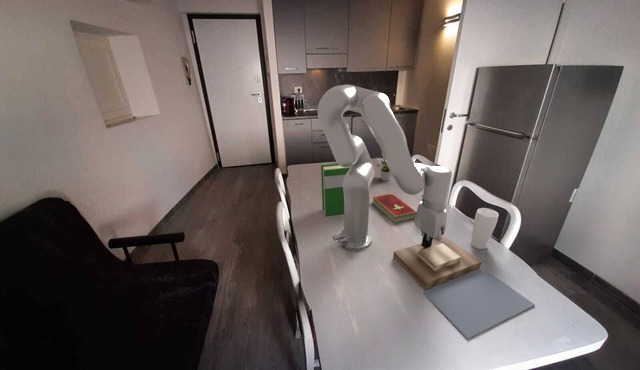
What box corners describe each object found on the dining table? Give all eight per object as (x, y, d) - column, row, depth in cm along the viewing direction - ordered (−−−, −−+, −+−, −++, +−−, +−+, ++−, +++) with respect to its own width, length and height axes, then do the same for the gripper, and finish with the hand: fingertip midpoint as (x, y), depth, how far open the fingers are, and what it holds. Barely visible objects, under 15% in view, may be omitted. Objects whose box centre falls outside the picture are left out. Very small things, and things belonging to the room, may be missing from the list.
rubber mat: (467, 339, 63) (467, 338, 63) (422, 292, 77) (423, 291, 77) (534, 305, 71) (534, 304, 71) (483, 268, 85) (483, 267, 85)
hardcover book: (391, 199, 133) (392, 192, 132) (416, 219, 115) (417, 211, 113) (371, 203, 130) (372, 196, 129) (394, 224, 112) (395, 216, 110)
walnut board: (424, 290, 78) (425, 283, 76) (393, 258, 91) (393, 251, 90) (479, 268, 85) (481, 261, 84) (443, 242, 99) (444, 235, 97)
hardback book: (325, 216, 119) (324, 170, 109) (322, 209, 126) (320, 164, 116) (360, 212, 122) (362, 166, 112) (355, 205, 128) (356, 161, 118)
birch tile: (434, 270, 81) (435, 266, 80) (417, 255, 88) (418, 251, 87) (460, 261, 84) (461, 256, 84) (441, 247, 91) (442, 243, 90)
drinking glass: (481, 239, 99) (490, 207, 93) (492, 250, 93) (503, 216, 87) (464, 240, 99) (473, 208, 93) (475, 251, 93) (484, 217, 87)
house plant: (368, 176, 163) (369, 152, 156) (387, 173, 166) (389, 149, 159) (379, 184, 150) (381, 159, 143) (399, 181, 154) (402, 156, 147)
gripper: (409, 195, 89) (404, 237, 96) (442, 215, 76) (433, 262, 83) (426, 191, 91) (419, 233, 99) (460, 210, 78) (450, 256, 86)
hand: (426, 246), depth 91 cm, fingers closed
